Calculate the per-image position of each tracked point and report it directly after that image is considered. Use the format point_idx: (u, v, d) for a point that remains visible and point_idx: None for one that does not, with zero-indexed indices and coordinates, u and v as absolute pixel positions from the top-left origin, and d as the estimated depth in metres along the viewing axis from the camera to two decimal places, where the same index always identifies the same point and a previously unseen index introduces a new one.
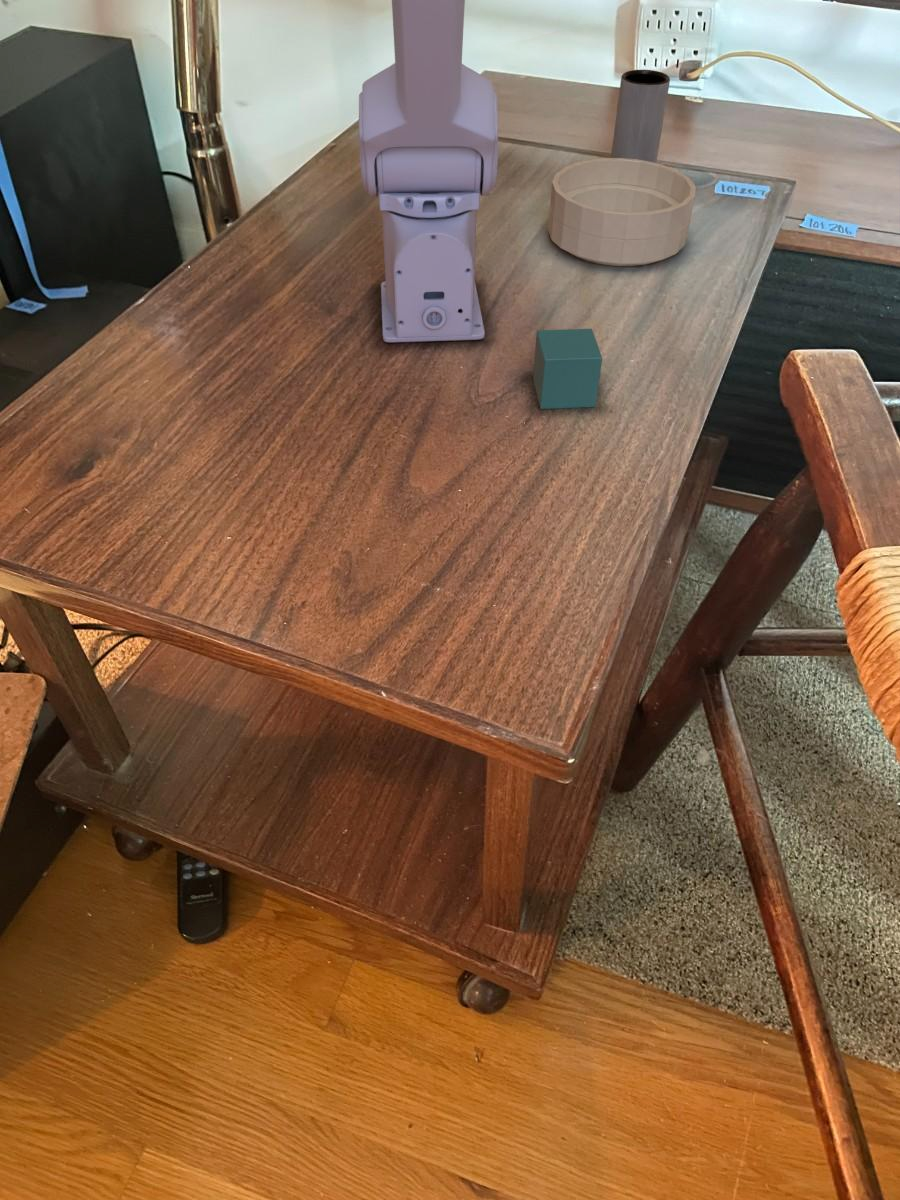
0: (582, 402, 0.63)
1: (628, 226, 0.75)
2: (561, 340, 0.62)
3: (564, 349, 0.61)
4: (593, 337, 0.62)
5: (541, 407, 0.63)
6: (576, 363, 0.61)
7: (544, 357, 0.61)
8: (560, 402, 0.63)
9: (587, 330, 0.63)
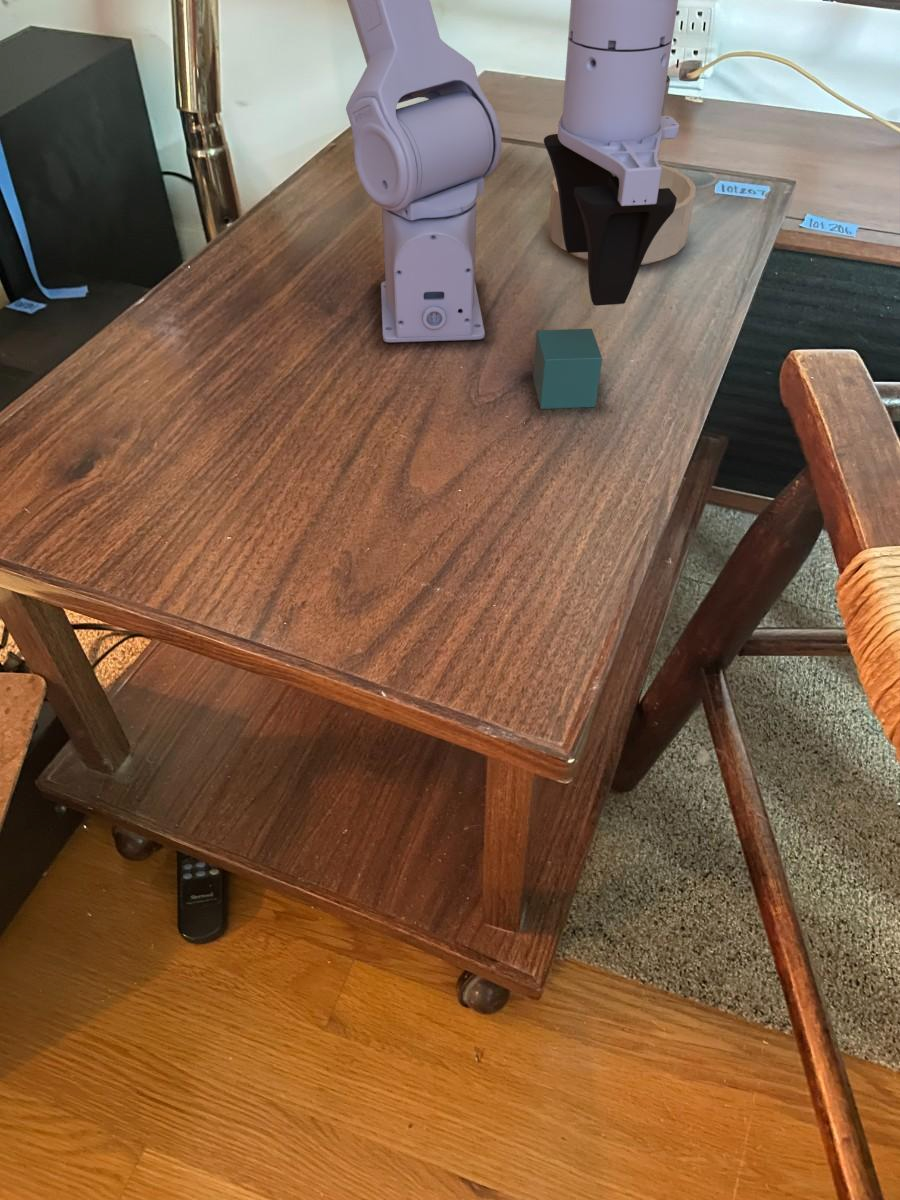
0: (582, 402, 0.63)
1: None
2: (561, 340, 0.62)
3: (564, 349, 0.61)
4: (593, 337, 0.62)
5: (541, 407, 0.63)
6: (576, 363, 0.61)
7: (544, 357, 0.61)
8: (560, 402, 0.63)
9: (587, 330, 0.63)
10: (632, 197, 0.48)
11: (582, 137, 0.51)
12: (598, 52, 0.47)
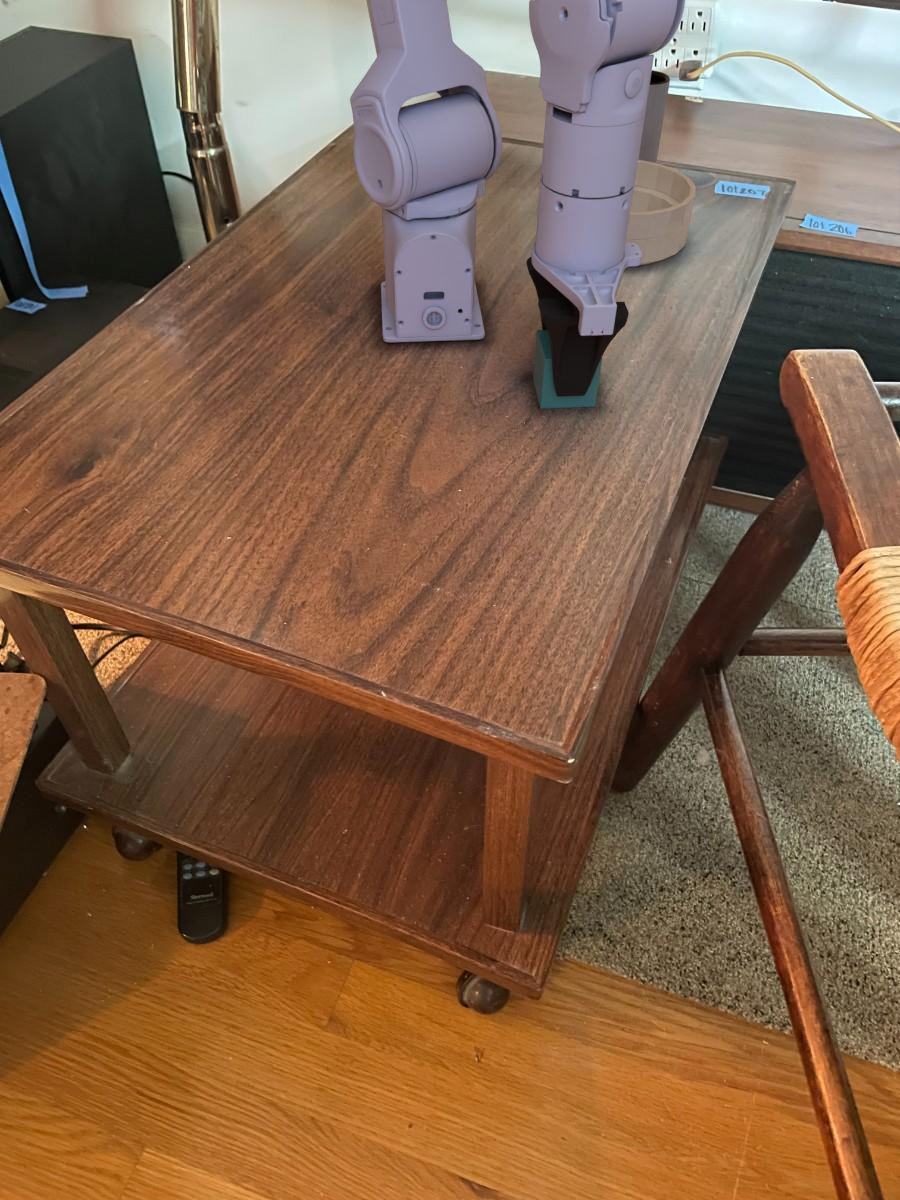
0: (582, 402, 0.63)
1: (628, 226, 0.75)
2: None
3: None
4: None
5: (541, 407, 0.63)
6: None
7: (544, 357, 0.61)
8: (560, 402, 0.63)
9: None
10: (590, 329, 0.53)
11: (551, 266, 0.56)
12: (564, 198, 0.52)
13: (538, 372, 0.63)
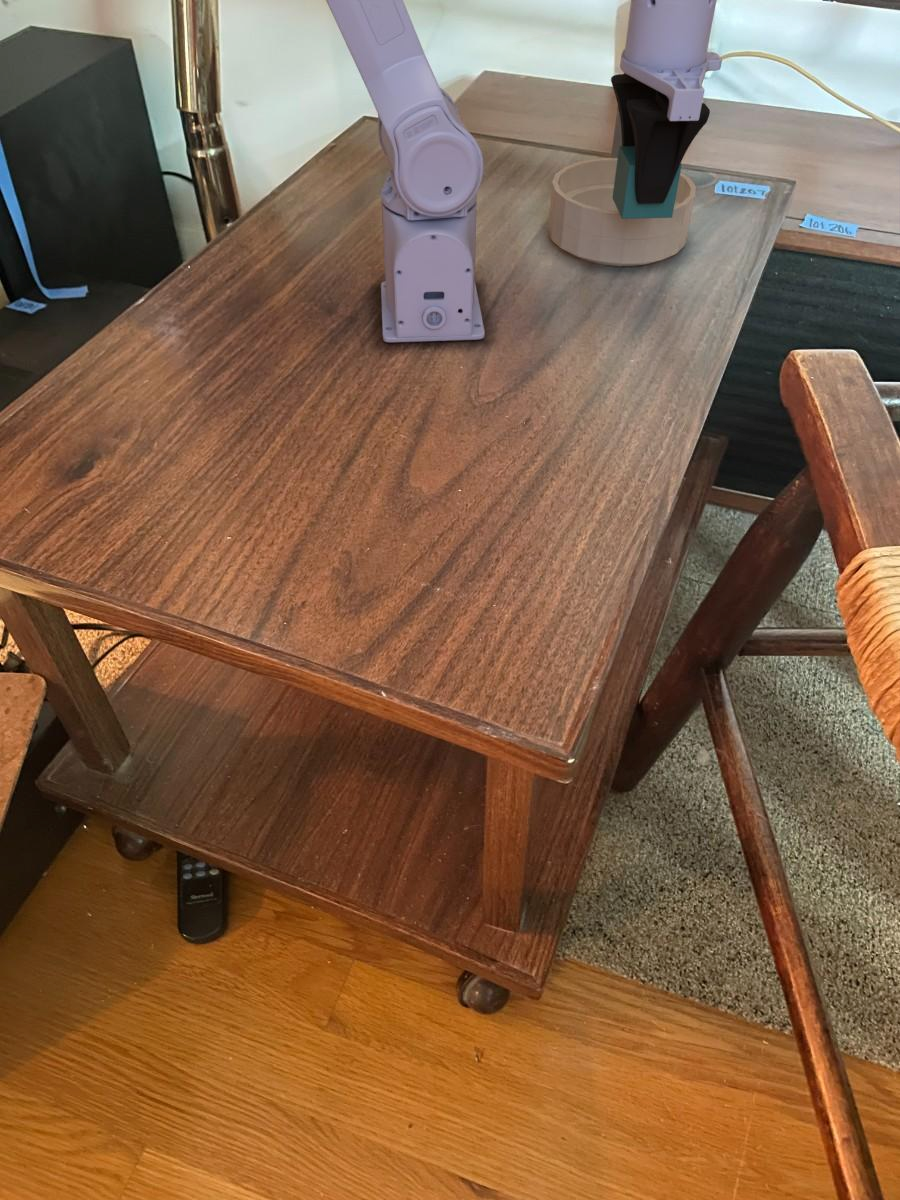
0: (660, 212, 0.69)
1: (628, 226, 0.75)
2: None
3: None
4: None
5: (623, 217, 0.69)
6: None
7: (628, 164, 0.66)
8: (640, 212, 0.69)
9: None
10: (679, 114, 0.59)
11: (640, 65, 0.61)
12: None
13: (620, 185, 0.69)
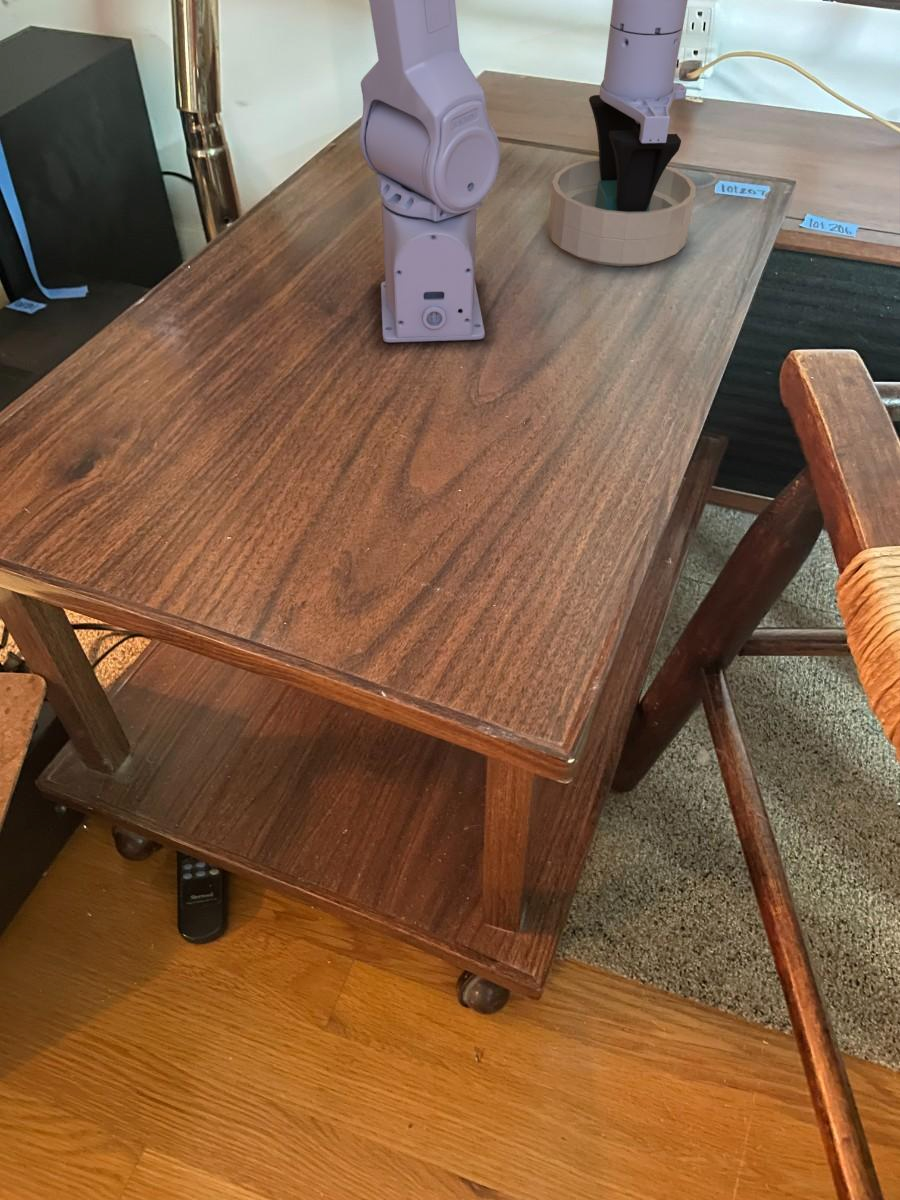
0: None
1: (628, 226, 0.75)
2: None
3: None
4: None
5: None
6: None
7: (606, 197, 0.78)
8: None
9: None
10: (649, 137, 0.69)
11: (616, 95, 0.72)
12: (630, 35, 0.69)
13: None
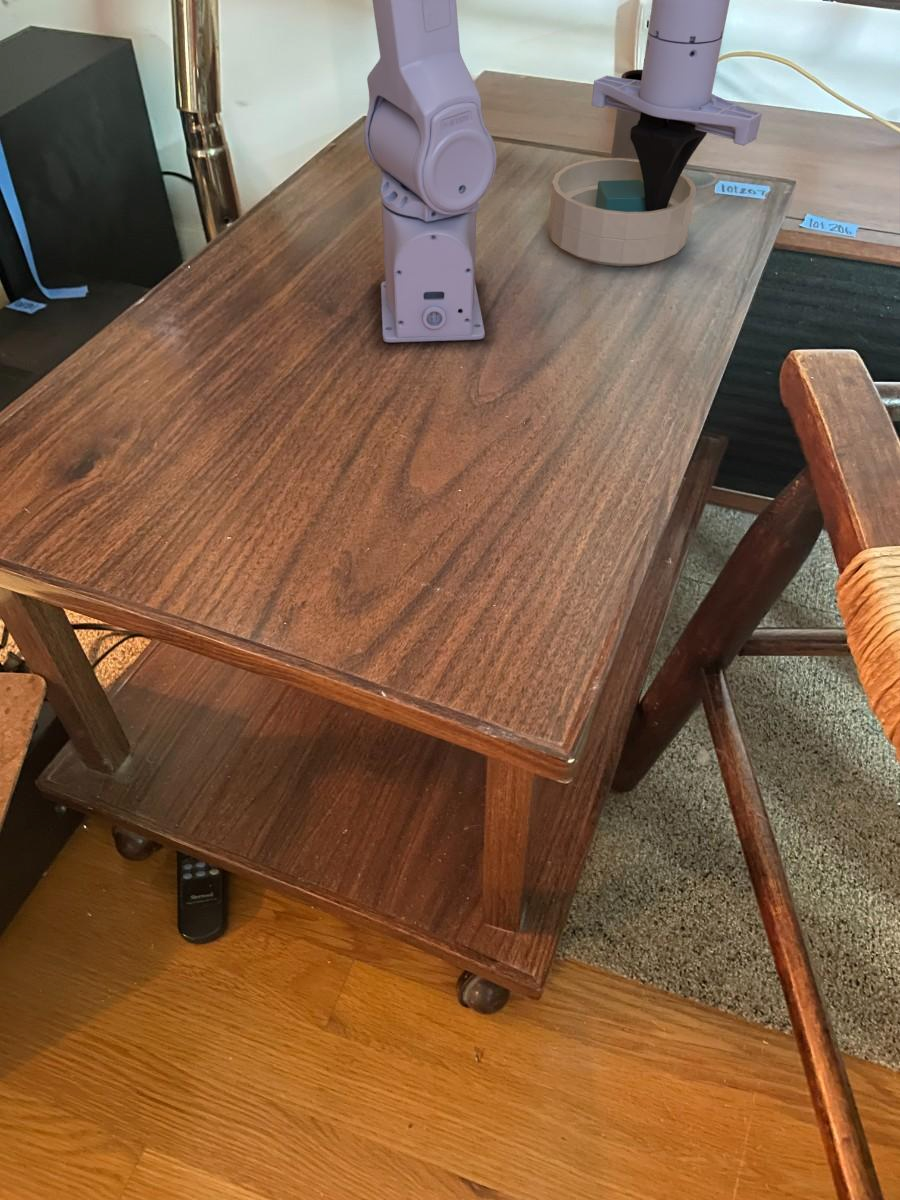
0: None
1: (628, 226, 0.75)
2: (618, 187, 0.79)
3: (621, 192, 0.79)
4: (643, 185, 0.80)
5: None
6: (631, 201, 0.78)
7: (606, 197, 0.78)
8: None
9: (638, 180, 0.80)
10: (749, 138, 0.69)
11: (682, 108, 0.70)
12: (699, 45, 0.67)
13: None
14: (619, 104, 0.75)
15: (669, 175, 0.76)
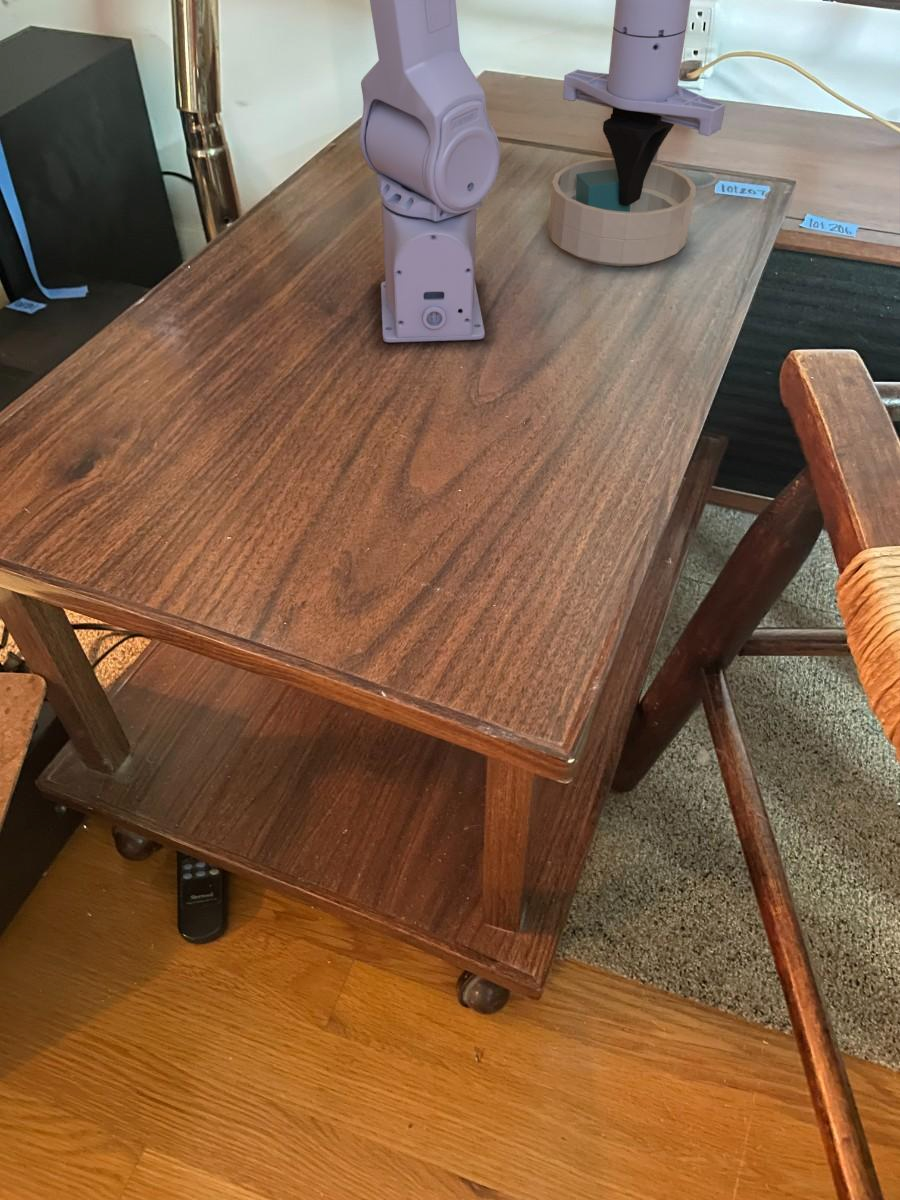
0: None
1: (628, 226, 0.75)
2: (597, 176, 0.81)
3: (601, 180, 0.80)
4: None
5: None
6: (612, 187, 0.79)
7: (587, 185, 0.79)
8: None
9: (615, 169, 0.82)
10: (713, 128, 0.71)
11: (648, 100, 0.71)
12: (661, 39, 0.68)
13: None
14: (589, 97, 0.77)
15: (638, 166, 0.78)
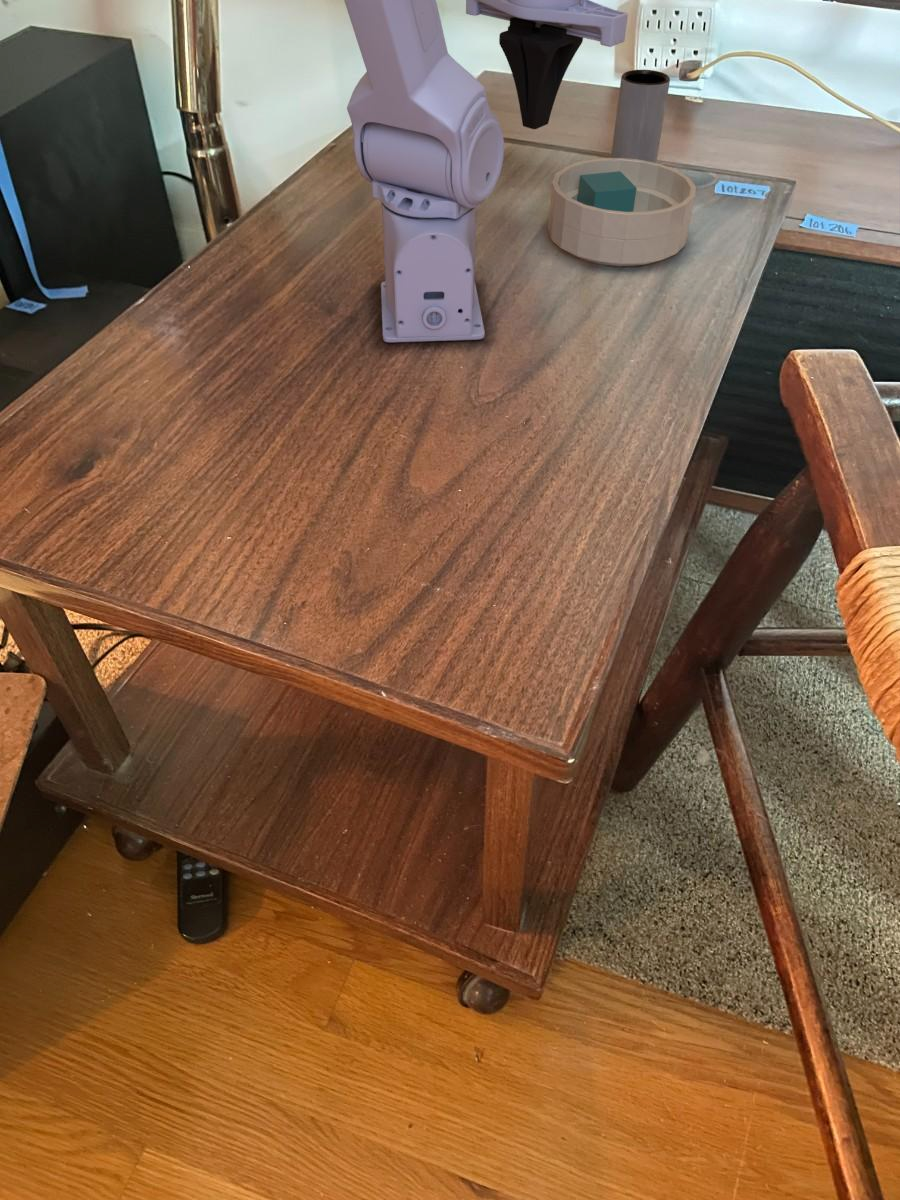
0: None
1: (628, 226, 0.75)
2: (601, 179, 0.81)
3: (606, 185, 0.80)
4: (624, 176, 0.81)
5: None
6: (618, 193, 0.79)
7: (594, 190, 0.79)
8: None
9: (617, 172, 0.82)
10: (615, 38, 0.68)
11: (548, 8, 0.68)
12: None
13: None
14: (492, 11, 0.73)
15: (547, 86, 0.74)
